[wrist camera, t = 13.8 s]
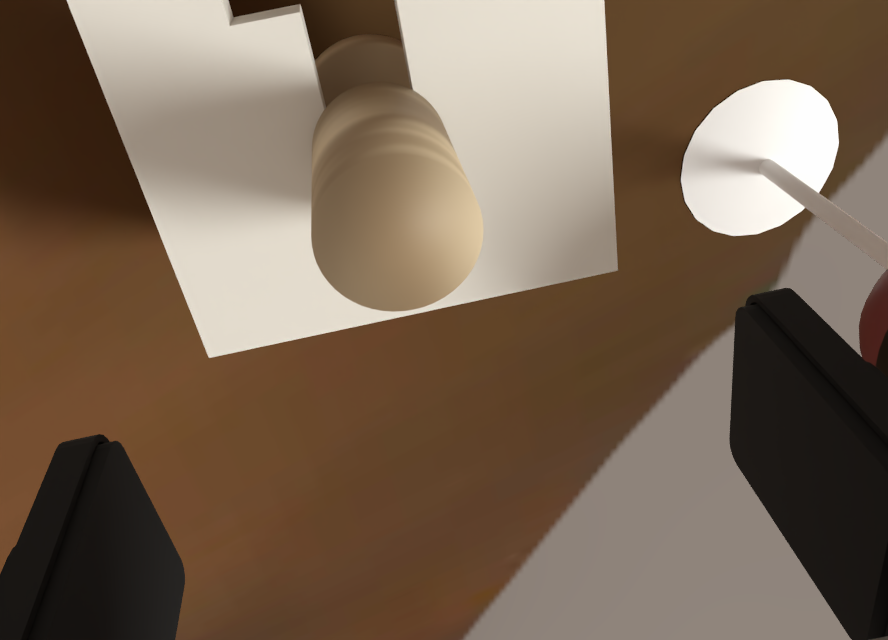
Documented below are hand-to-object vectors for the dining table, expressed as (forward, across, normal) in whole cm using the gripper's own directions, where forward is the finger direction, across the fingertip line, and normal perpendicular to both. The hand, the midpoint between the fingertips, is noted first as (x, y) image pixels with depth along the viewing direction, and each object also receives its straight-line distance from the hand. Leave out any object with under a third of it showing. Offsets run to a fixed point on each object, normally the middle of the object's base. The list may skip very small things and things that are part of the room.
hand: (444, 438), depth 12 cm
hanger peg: (+18, 0, 0) cm, 18 cm away
